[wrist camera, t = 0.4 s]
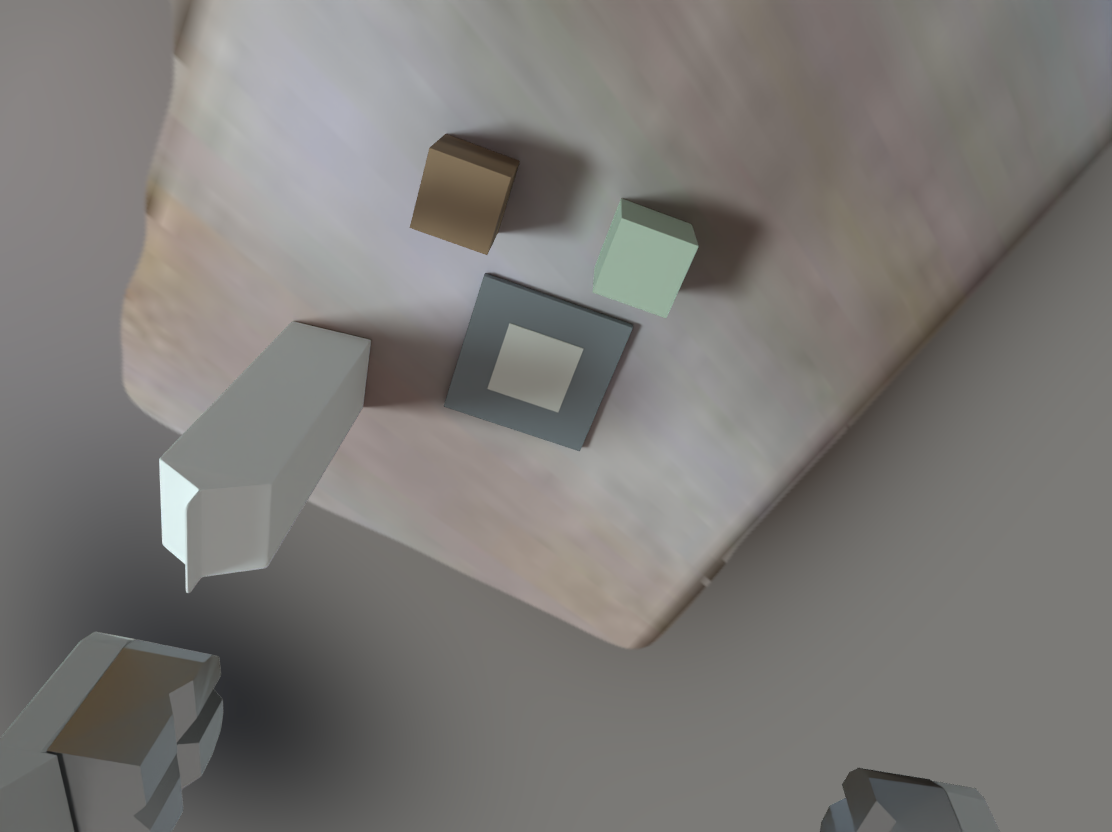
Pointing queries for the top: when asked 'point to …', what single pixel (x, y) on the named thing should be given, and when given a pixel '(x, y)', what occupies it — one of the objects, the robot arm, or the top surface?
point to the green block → (644, 258)
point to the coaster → (535, 362)
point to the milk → (260, 451)
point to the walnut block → (463, 193)
